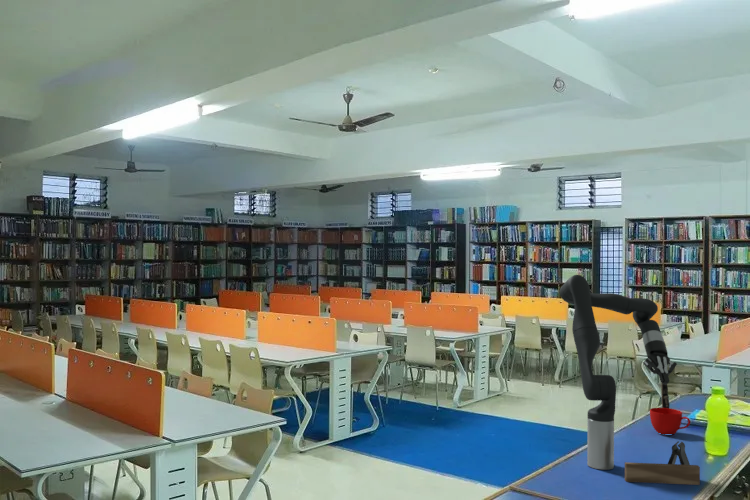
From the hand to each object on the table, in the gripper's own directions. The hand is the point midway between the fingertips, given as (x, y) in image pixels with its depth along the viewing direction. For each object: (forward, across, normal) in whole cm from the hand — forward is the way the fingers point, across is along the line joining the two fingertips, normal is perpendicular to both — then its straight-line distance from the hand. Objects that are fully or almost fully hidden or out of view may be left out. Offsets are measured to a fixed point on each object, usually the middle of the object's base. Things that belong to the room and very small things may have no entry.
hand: (665, 383), depth 242 cm
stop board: (+37, -9, +5) cm, 38 cm away
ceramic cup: (-6, +27, +47) cm, 55 cm away
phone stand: (+33, 0, +8) cm, 34 cm away
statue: (-22, +40, +64) cm, 78 cm away
